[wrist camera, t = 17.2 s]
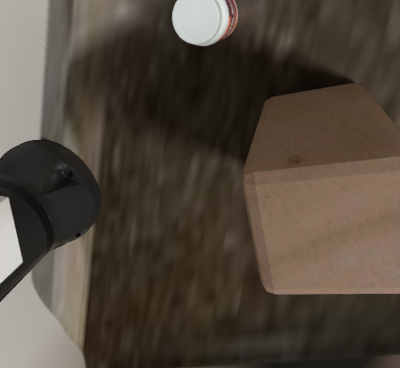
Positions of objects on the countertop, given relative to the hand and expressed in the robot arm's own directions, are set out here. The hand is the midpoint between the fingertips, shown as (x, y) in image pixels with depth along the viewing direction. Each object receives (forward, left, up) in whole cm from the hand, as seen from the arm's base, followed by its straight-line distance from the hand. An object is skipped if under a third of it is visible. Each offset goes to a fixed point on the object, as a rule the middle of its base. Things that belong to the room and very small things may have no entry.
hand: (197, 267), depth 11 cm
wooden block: (+6, -5, -31) cm, 32 cm away
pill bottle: (-6, +6, -31) cm, 32 cm away
